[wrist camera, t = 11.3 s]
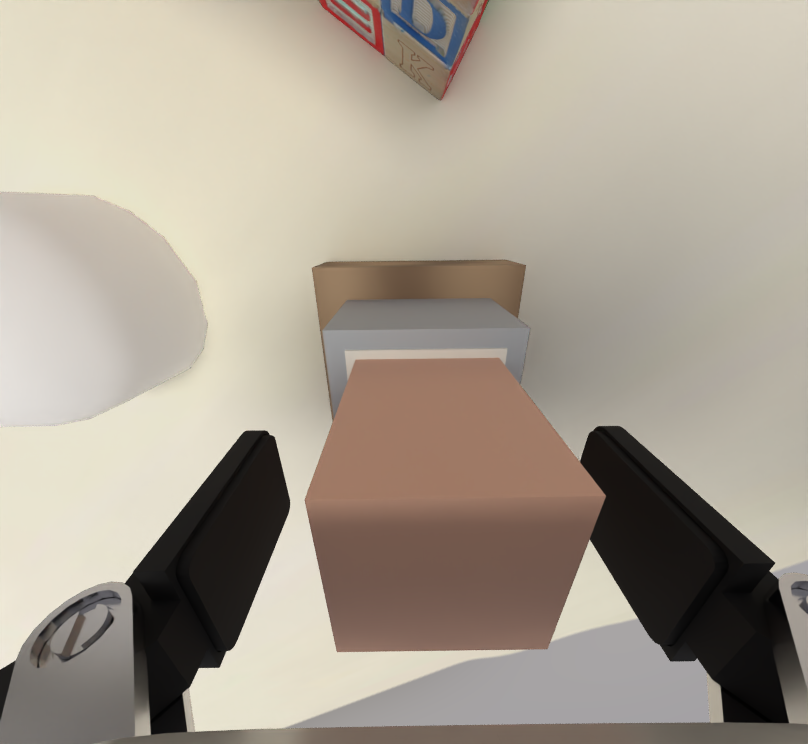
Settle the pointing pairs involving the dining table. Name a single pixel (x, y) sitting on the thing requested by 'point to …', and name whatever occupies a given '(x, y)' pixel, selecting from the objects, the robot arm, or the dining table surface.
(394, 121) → the dining table surface
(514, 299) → the plinth
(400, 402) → the terracotta block
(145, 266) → the teardrop
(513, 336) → the grey block
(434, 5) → the stack of blocks
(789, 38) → the dining table surface
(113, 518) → the dining table surface
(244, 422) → the dining table surface
